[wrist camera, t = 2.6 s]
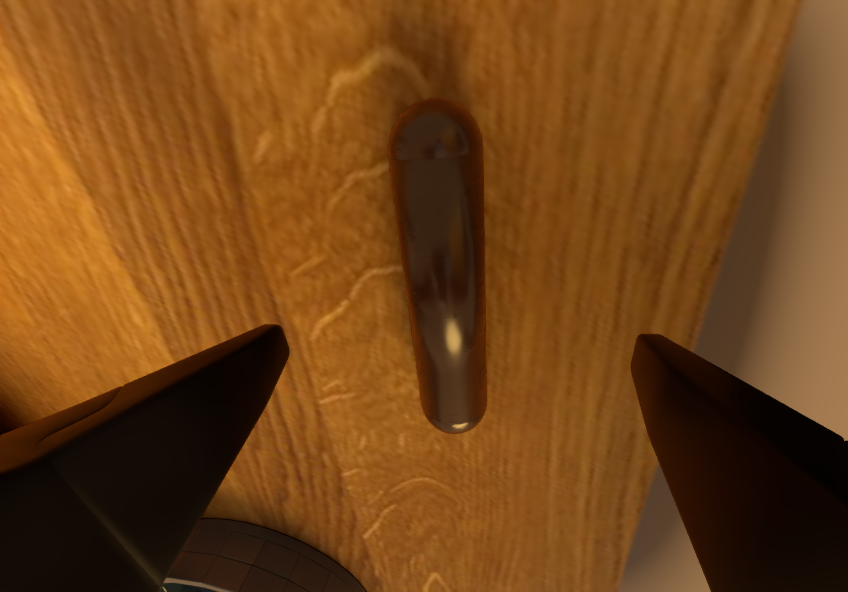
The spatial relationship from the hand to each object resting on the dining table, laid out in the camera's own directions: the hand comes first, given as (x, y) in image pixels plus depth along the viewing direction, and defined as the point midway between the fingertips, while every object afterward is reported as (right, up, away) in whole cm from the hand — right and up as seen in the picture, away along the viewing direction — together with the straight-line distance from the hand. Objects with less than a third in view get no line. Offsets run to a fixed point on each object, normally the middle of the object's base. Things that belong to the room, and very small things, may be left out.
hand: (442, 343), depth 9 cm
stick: (+1, +2, +3) cm, 3 cm away
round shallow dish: (-12, -21, +18) cm, 30 cm away
